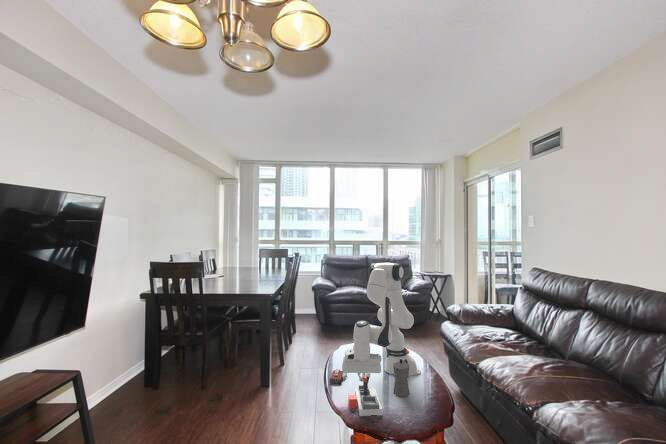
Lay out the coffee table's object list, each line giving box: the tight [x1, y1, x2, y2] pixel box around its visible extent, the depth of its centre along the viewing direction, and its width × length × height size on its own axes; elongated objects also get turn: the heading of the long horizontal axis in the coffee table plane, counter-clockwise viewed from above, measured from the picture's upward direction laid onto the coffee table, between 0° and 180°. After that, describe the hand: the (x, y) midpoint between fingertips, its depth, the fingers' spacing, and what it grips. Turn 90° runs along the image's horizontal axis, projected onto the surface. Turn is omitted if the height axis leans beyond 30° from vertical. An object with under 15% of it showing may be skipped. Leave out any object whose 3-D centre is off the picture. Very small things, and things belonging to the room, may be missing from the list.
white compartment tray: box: [354, 384, 383, 417], centre depth 153 cm, size 11×19×5 cm, turn 3°
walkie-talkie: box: [329, 368, 348, 385], centre depth 182 cm, size 9×4×20 cm
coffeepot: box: [393, 359, 411, 398], centre depth 165 cm, size 15×9×18 cm, turn 146°
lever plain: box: [362, 373, 372, 389], centre depth 160 cm, size 2×3×10 cm
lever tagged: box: [362, 375, 367, 395], centre depth 154 cm, size 2×3×10 cm
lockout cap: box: [347, 394, 358, 409], centre depth 151 cm, size 4×4×4 cm
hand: (361, 380), depth 154 cm, fingers closed
